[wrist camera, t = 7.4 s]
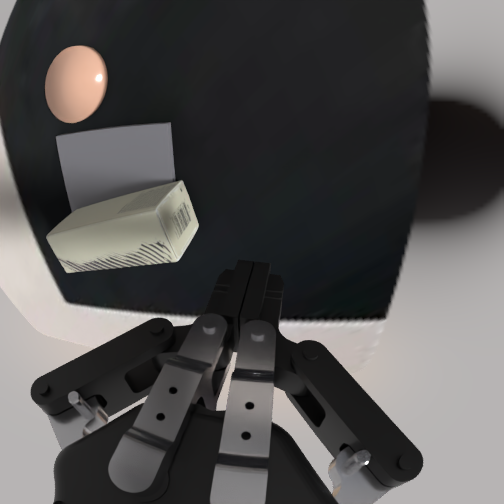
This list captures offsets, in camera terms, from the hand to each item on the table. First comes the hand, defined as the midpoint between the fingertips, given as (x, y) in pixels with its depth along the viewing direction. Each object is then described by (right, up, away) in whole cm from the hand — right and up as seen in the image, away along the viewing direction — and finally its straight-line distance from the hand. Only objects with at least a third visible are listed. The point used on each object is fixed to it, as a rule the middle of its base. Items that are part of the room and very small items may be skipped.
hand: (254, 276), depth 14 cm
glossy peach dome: (-15, +15, +5) cm, 22 cm away
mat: (-12, +7, +10) cm, 17 cm away
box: (-5, +4, +7) cm, 9 cm away
